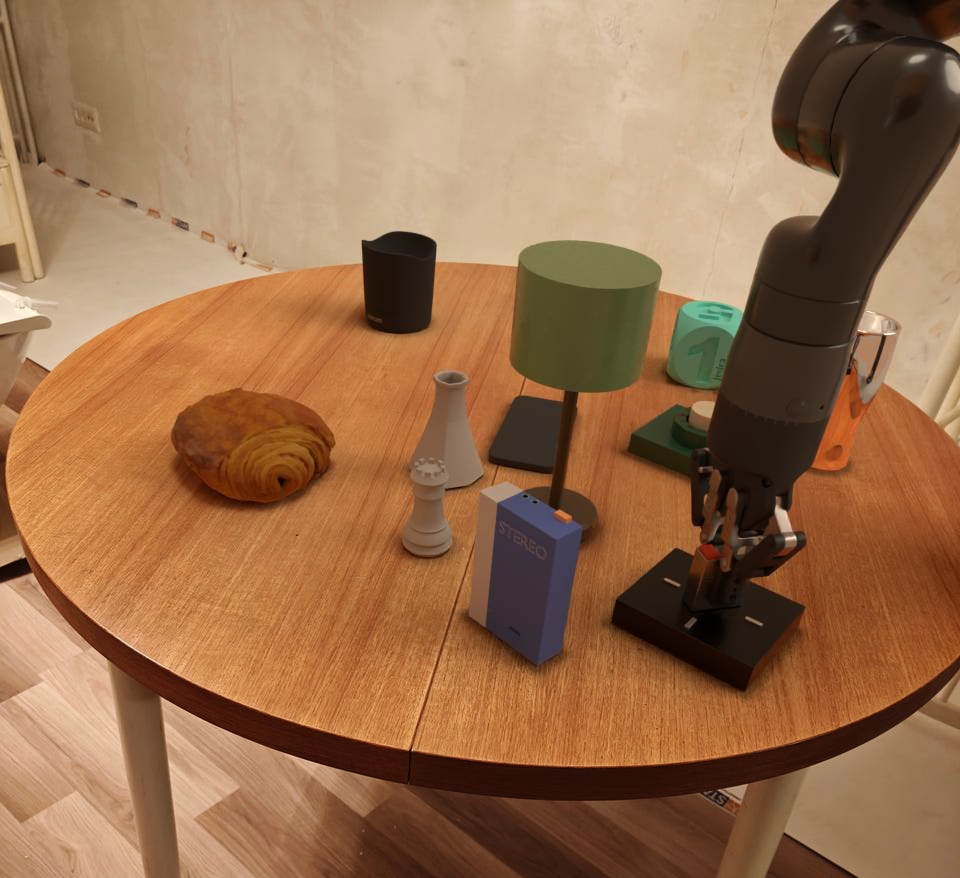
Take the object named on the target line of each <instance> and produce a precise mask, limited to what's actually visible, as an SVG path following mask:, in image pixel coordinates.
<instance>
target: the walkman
mask: <svg viewBox="0 0 960 878" xmlns="http://www.w3.org/2000/svg"><path fill="white" fill-rule="evenodd" d="M478 496H479V497H478V509H477V519H476V520H477V521H476V522H477V523H476V532H475V536H474V546H473V558H472V559H473V560H472V573H471V586H470V597H469V609H468V616H469V618H471V619H472V620H474V621H475V622H476V623H478V624H479V625H481V626H482V627H484V628H485V629H486V630H488V631H489V632H490V633H492V634H493V635H494V636H496V637H497V638H499V639H500V640H501V641H502V642H504V643H505V644H507V646H509V647H511V648H512V649H513V650H515V651H516V652H518V653H519V654H520V655H521V656H523V657H524V658H526V659H527V660H528V661H530V662H531V663H532V664H534V665H535V666H536V667H538V666H540V665H542V664H543V663H545V662H547V661H549V660H550V659H551V658H553V657H555V656H557V655H558V654H559V653H561V652H562V650H563V646H564V639H565V634H566V628H567V622H568V616H569V610H570V605H571V598H572V593H573V588H574V582H575V575H576V570H577V565H578V560H579V559H578V558H579V553H580V548H581V543H582V542H581V536H582V530H583V526H581V525H580V524H578V523H576V522H575V521H573V520H572V517H571V516H570V515H568V514H566V513H565V512H563V511H561V510H558V511H556V510H555V509H553V508H551V507H550V506H548V505H546V504H545V503H543V502H541V501H540V500H538V499H536V498H535V497H533V496H531V495H530V494H528V493H527V492H525V491H524V490H523V489H521V488H519V487H518V486H516V485H515V484H513V483H511V482H509V481H508V480H506V481H504V482H502V483H499V484H497V485H490V486H487V487H486V488H482V489H481V490H479V495H478ZM580 542H581V543H580Z"/></svg>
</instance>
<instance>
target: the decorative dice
mask: <svg viewBox="0 0 960 878" xmlns="http://www.w3.org/2000/svg"><path fill="white" fill-rule="evenodd" d="M743 314H744V311H743V310H741V309H740V308H737V307H736V306H733V305H731V304H727V303H723V302H718V301H713V300H693V301H688V302H685V303H684V304H683V305H681V306H680V307H679V308H678V310H677V312H676V317H675V321H674V325H673V330H672V334H671V340H670V345H669V350H668V357H667V364H666V373H667V374H668V376H669V377H670V378H671V379H672V380H673V381H675V382H677V383H679V384H681V385H683V386H687V387H690V388H694V389H701V390H716V389H718V390H719V387H720V384H721V380H722V376H723V372H724V369H725V365H726V361H727V357H728V354H729V351H730V347H731V344H732V342H733V339H734V337H735V335H736V332H737V330H738V328H739V325H740V323H741V320H742V317H743Z"/></svg>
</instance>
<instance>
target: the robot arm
mask: <svg viewBox="0 0 960 878" xmlns="http://www.w3.org/2000/svg"><path fill="white" fill-rule="evenodd" d="M958 37H960V0H837V1H836V2H835V3H834V4H833V5H832V6H831V7H830V8H829V9H828V10H826V11H825V13H824V14H822V16H821V17H820V18H818V20H817V21H816V22H815V23H814V24H813V26H811V28H810V29H809V30H808V31H807V32H806V34H805V35H804V36H803V38H802V39H801V41H799V43H798V45H796V48H795V49H794V50H793V52H792V54H791V55H790V57H789V59H788V61H787V63H786V64H785V67H784V68H783V71H782V73H781V75H780V77H779V80H778V82H777V86H776V88H775V92H774V95H773V100H772V105H771V111H770V123H771V124H770V125H771V132H772V133H771V134H772V137H773V139H774V141H775V144H776V145H777V147H778V149H779V150H780V151H781V152H782V153H783V154H784V156H785V157H787V158H788V159H790V160H791V161H793V162H794V163H796V164H799V165H801V166H803V167H806V168H809V169H811V170H814V171H816V172H819V173H821V174H824V175H827V176H829V177H831V178H834V179H837V180H838V183H837V185H836V188H835V189H834V192H833V195H832V196H831V198H830V200H829V201H828V203H827V205H825V207H824V209H823V211H822V212H821V213H820V215H811V214H810V215H807V214H806V215H805V214H804V215H803V214H802V215H795V216H790V217H787V218H784V219H782V220H780V221H779V222H777V223H776V224H775V225H774V226H772V228H771V229H770V230H769V231H768V234H767V235H766V237H765V239H764V240H763V243H762V245H761V249H760V252H759V256H758V258H757V261H756V265H755V270H754V274H753V277H752V280H751V283H750V288H749V291H748V294H747V295H748V296H747V299H746V303H745V306H744V309H743V313H744V314H743V317H742V320H741V323H740V325H739V328H738V330H737V332H736V335H735V337H734V339H733V342H732V344H731V347H730V351H729V354H728V357H727V361H726V365H725V369H724V372H723V376H722V380H721V384H720V387H719V388H718V390H717V395H716V399H715V401H714V402H715V406H714V409H713V413H712V417H711V421H710V424H709V428H708V432H707V436H706V443H707V446H708V448H702V449H693V450H692V452H691V477H690V510H691V511H690V513H691V515H690V516H691V518H690V519H691V523H692V526H693V527H699V528H700V533H699V542H700V545H710V544H712V546H715V545H724V547H723V551H722V555H721V559H720V565H719V566H718V568H717V571H716V574H715V577H714V581H713V584H712V587H711V590H710V594H709V597H708V602H709V603H710V605H711V606H712V607H713V608H722V607H730V606H733V605H735V604H737V602H738V601H739V599H740V596H741V593H742V590H743V587H744V584H745V581H746V579H749V578H751V579H757V578H765V577H769V576H771V575H772V574H773V573H774V572H776V571H777V570H778V569H779V568H781V567H783V565H784V564H786V563H787V562H788V561H789V560H791V559H792V558H793V557H794V556H795V555H797V554H798V553H799V552H800V551H802V550H803V549H804V548H805V547H806V546H807V542H808V539H807V538H808V537H807V535H806V533H805V531H803V530H795V531H794V530H793V526H792V524H791V521H790V518H789V515H788V513H789V511H790V510H791V507H792V505H793V493H794V486H795V483H796V482H797V481H798V480H799V478H800V477H801V476H802V475H803V474H805V473H806V472H807V471H808V470H810V469H811V466H812V464H813V463H814V460H815V458H816V455H817V452H818V449H819V447H820V444H821V441H822V439H823V436H824V433H825V430H826V428H827V425H828V422H829V419H830V416H831V414H832V411H833V408H834V406H835V403H836V400H837V397H838V395H839V392H840V389H841V386H842V384H843V381H844V378H845V375H846V372H847V368H848V363H849V359H850V354H851V349H852V345H853V342H854V338H855V336H856V333H857V330H858V328H859V325H860V322H861V319H862V316H863V314H864V311H865V310H866V308H867V306H868V302H869V300H870V297H871V294H872V291H873V288H874V285H875V282H876V278H877V277H878V274H879V273H880V271H881V269H882V268H883V266H884V264H885V263H886V261H887V259H888V258H889V256H890V255H891V254H892V252H893V251H894V249H895V247H896V246H897V244H898V243H899V241H900V240H901V238H902V237H903V235H904V234H905V232H906V230H907V229H908V228H909V226H910V224H911V223H912V221H913V220H914V218H915V216H916V215H917V213H918V212H919V211H920V209H921V208H922V206H923V205H924V204H925V201H926V200H927V199H928V197H929V196H930V194H931V192H932V191H933V190H934V188H935V186H936V185H937V183H938V182H939V180H940V179H941V178H942V176H943V175H944V173H945V172H946V170H947V169H948V167H949V165H950V164H951V161H952V160H953V158H954V157H955V155H956V153H957V150H958V149H959V146H960V53H959V51H958V50H957V49H955V48H954V47H952V46H950V45H948V44H946V43H945V42H947V41H949V40H952V39H955V38H958ZM707 477H709V478H708V479H707ZM706 495H707V496H706ZM705 496H706V498H705ZM744 546H746V549H745V553H744V554H740V555H737V553H738V550H739V548H741V547H744Z"/></svg>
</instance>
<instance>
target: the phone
mask: <svg viewBox="0 0 960 878" xmlns="http://www.w3.org/2000/svg"><path fill="white" fill-rule="evenodd" d="M562 404H563V401H561V400H555V399H548V398H543V397H539V396H538V397H537V396H531V395H525V394H524V395H522V394H521V395H516V396H515V397H514V398H513V400H512V402H511V404H510V406H509V409H508V410H507V412H506V414H505V416H504V419H503V420H502V423H501V425H500V427H499V429H498V431H497V432H496V435H495V437H494V439H493V441H492V443H491V445H490V448H489V449H488V454H487V455H488V456H487V458H488V461H490V462H491V463H493V464H496V465H502V466H506V467H512V468H518V469H524V470H529V471H534V472H539V473H544V474H545V473H546V474H551V473H552V474H553V468H554V461H555V454H556V447H557V440H558V433H559V426H560V419H561V411H562ZM578 410H579V407H578V405H577V406H576V413H575V420H574V423H575V421H576V418H577V414H578Z"/></svg>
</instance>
